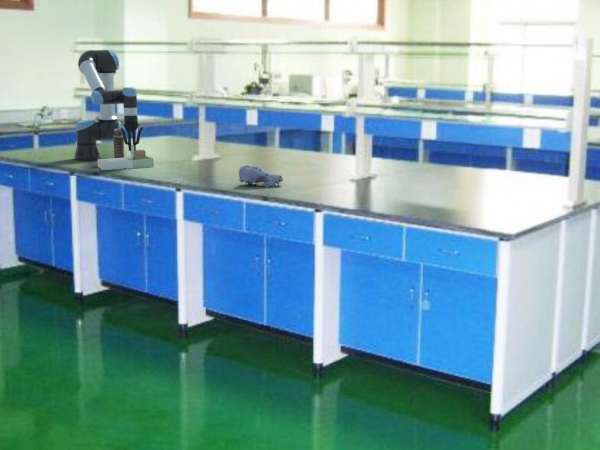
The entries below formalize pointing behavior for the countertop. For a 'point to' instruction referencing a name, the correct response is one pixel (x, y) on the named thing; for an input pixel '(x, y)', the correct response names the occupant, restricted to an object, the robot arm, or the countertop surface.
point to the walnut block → (139, 154)
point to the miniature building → (118, 144)
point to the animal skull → (258, 176)
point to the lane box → (125, 163)
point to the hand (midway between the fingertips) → (132, 156)
